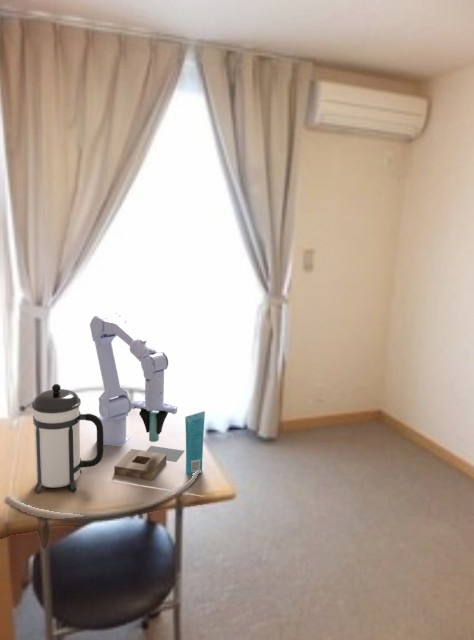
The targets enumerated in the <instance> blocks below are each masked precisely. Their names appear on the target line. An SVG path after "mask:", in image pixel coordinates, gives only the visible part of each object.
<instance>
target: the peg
mask: <svg viewBox="0 0 474 640" xmlns="http://www.w3.org/2000/svg"><path fill="white" fill-rule="evenodd" d="M157 413H159V411H152V412H150V416H149V433H148V441H149V442H151V443H156V442H159V440H160V434H157V418H156V414H157Z"/></svg>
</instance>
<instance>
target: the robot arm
mask: <svg viewBox="0 0 474 640" xmlns="http://www.w3.org/2000/svg"><path fill="white" fill-rule="evenodd" d="M89 327H90V332H91V338H92V341H93V342H94V344H95V345H94V346H95V350H96V355H97V360H98V364H99V365H98V366H99V369H100V374H101V375H100V376H101V379H102V385H103V390H104V391H103V392H102V394H101V395H100V396H99V397H98V411H99V417H98V418H99V419H100V420H101V422H102V425H103V446H112V447H117V448H122V447H123V446H124V445H125V444H126V443H127V442H128V441H129V440H130V439H131V438H132V437H131V436H130V435H128V436H127V417H128V416H129V413H131V411H132V410H135V409H139V410H140V411H139V412H138V413H139V414H138V415H139V416H140V418H141V420H142V422H143V424H144V426H145V432H146V433H148V434H149V416H150V412H152V411H157V412H159V413H157V414H156V418H157V434H159V435H160V434H161V433H162V432H163V427H164V423H165V420H166V418H167V416H168V414H169V413H171V414H172V415H176V414H177V413H178V405H173V404H169V403H165V402H164V397H165V395H164V392H165V389H164V388H165V387H164V386H165V370H167V368H168V366H169V358H168V356H167V354H166V353H165V352H163V351H159V350H155V348H153V347H152V345H150V344H149V343H148V342H147V340H146V339H145V338H140V337H139V338H138V337H137V336H136V335H135V334H134V332H133V331H132V330H131V329H130V327H129V326H128V325H127V321H126V318H125V317H123V315H122V314H121V313H119V312H116V313H112V314H105V315H99V316H98V315H96V316H93V317H92V319H91V321H90V323H89ZM116 337H118V338H119V339H121V340H122V341H123V342H124V344H127V345H128V346H129V351H130V353H131V354H132V355H133V356H134V358H135V359H137V360H138V361H139V362H140V364H141V369H142V371H143V377H144V381H145V382H144V385H145V386H144V400H133V401H132V400H131V399H130V397H129V393H128V391H127V390H126V389H123V388H122V387H121V385H120V379H119V374H118V370H117V365H116V364H117V363H116V360H115V355H114V349H113V345H112V342H113V340H114V339H115V338H116ZM95 444H96V445H97V440H96V441H95Z"/></svg>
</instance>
